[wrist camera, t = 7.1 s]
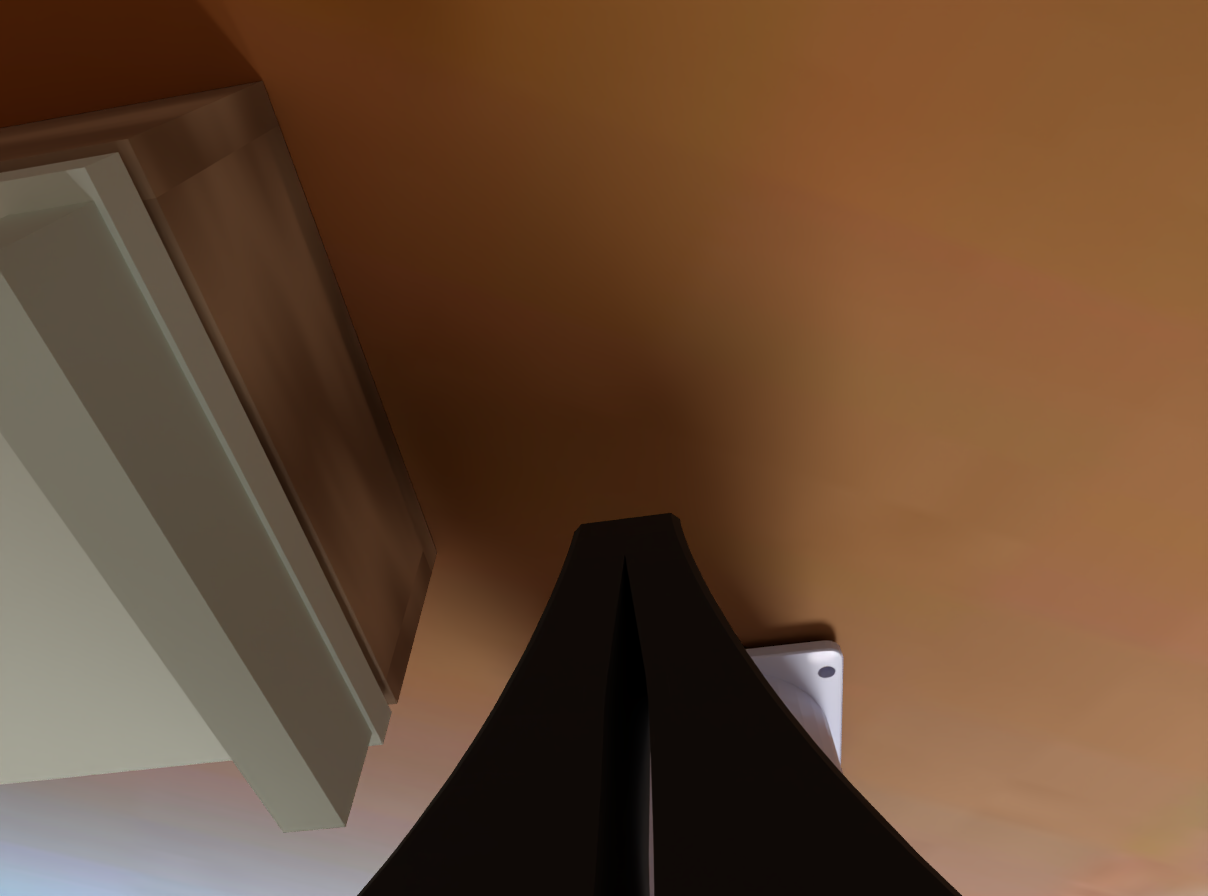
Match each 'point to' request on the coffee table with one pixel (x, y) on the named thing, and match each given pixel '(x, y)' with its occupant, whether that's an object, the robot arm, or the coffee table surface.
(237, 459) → the lid
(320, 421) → the box
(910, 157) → the coffee table surface
